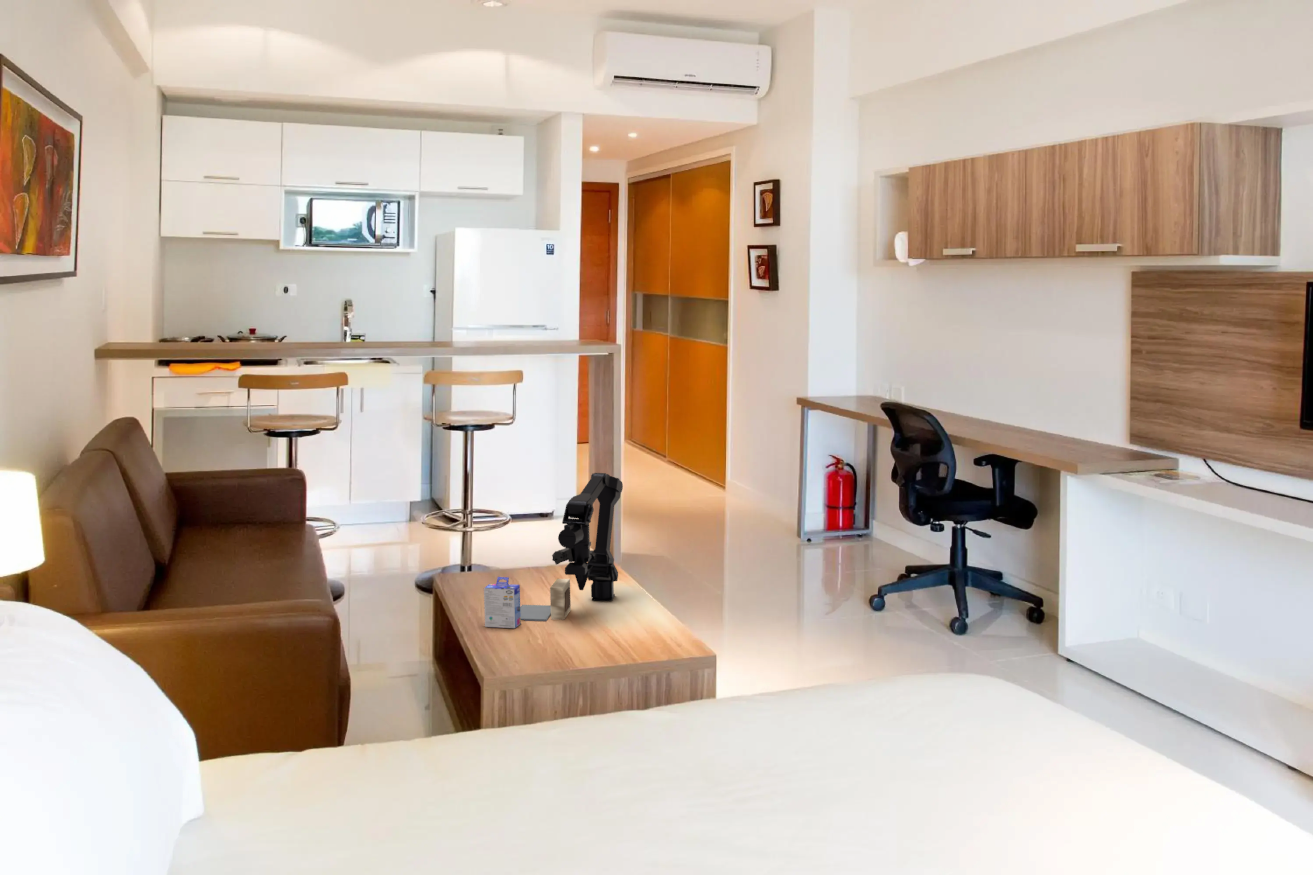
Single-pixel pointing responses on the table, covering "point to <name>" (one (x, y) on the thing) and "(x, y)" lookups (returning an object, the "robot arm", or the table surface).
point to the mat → (535, 612)
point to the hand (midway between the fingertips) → (581, 589)
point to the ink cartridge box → (502, 604)
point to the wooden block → (560, 599)
